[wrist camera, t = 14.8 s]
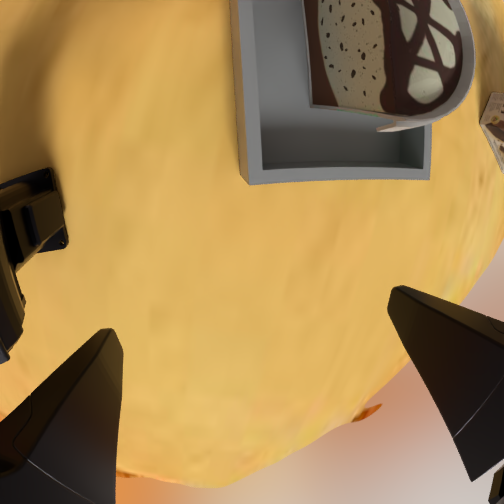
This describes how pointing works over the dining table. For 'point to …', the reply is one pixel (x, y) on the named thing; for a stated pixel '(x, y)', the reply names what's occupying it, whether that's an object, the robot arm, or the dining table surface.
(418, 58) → the food container
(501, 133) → the coffee box
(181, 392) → the dining table surface
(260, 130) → the tray
